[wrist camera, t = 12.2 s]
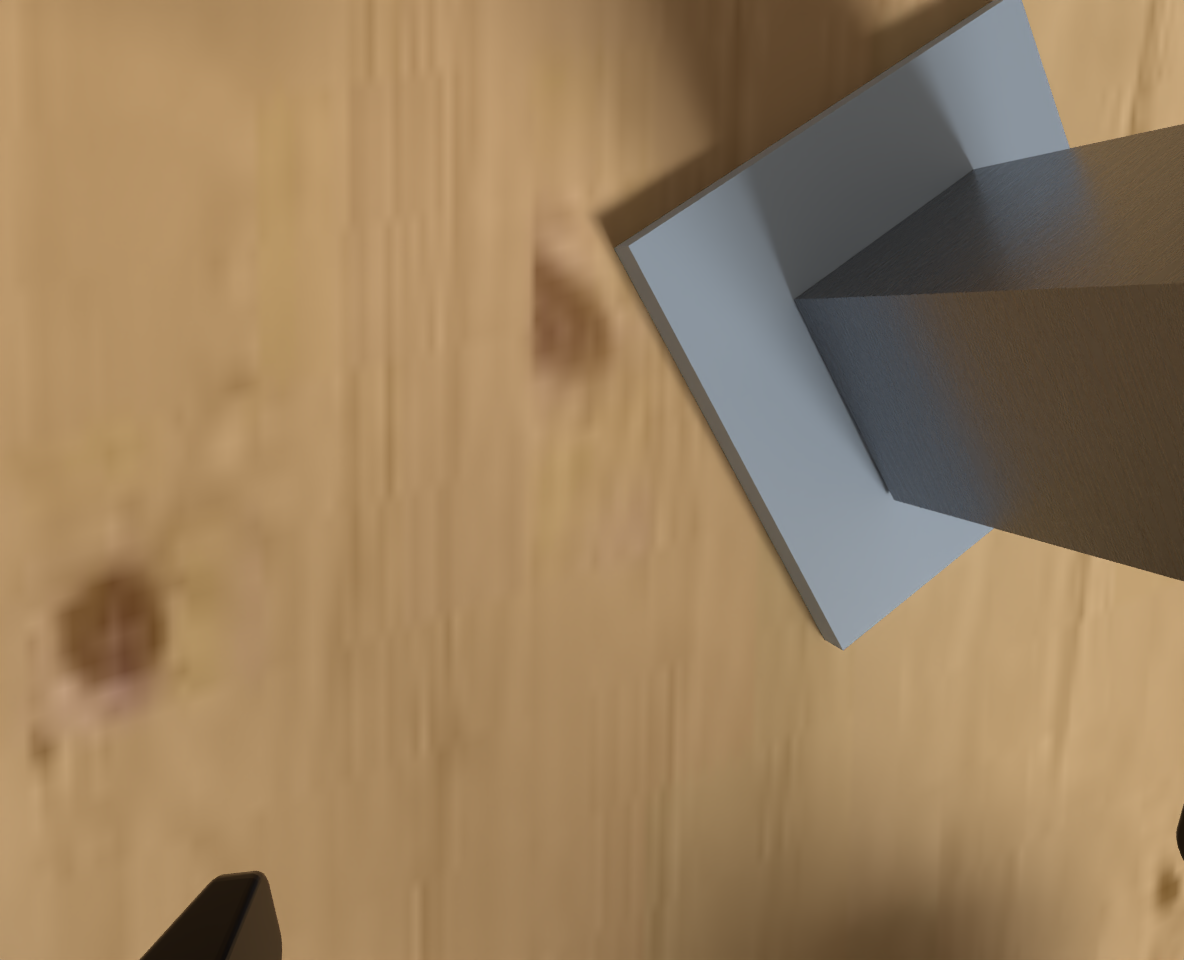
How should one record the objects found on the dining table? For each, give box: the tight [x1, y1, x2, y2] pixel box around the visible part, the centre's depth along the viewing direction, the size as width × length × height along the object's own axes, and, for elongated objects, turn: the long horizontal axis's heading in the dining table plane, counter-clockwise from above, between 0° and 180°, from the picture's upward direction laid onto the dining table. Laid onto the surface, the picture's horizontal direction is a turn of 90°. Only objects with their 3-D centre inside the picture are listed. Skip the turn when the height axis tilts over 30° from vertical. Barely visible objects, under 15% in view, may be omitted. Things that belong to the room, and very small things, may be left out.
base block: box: [614, 0, 1070, 650], centre depth 22 cm, size 12×12×4 cm
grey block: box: [794, 124, 1184, 581], centre depth 17 cm, size 6×6×12 cm
